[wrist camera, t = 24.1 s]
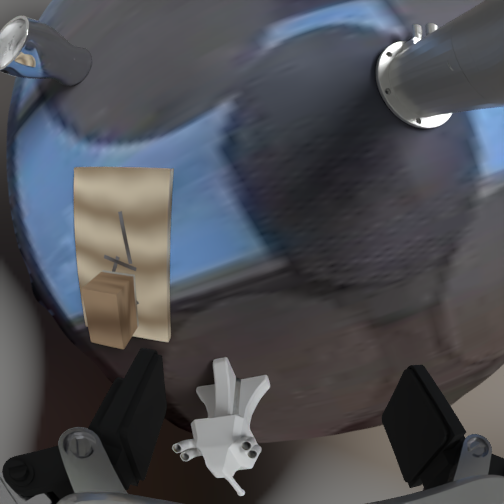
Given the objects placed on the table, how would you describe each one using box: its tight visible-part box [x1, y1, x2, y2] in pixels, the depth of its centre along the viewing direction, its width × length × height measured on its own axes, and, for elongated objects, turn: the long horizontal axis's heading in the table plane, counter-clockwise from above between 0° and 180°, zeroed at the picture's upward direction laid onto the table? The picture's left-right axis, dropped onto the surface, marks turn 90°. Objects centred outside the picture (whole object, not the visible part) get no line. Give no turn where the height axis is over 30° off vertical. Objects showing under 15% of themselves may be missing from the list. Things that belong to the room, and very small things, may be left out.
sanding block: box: [82, 270, 139, 349], centre depth 36 cm, size 8×5×6 cm, turn 174°
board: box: [74, 167, 174, 342], centre depth 38 cm, size 24×14×2 cm, turn 174°
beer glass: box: [0, 16, 92, 86], centre depth 23 cm, size 7×7×15 cm
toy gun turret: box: [173, 357, 270, 496], centre depth 37 cm, size 12×13×18 cm
